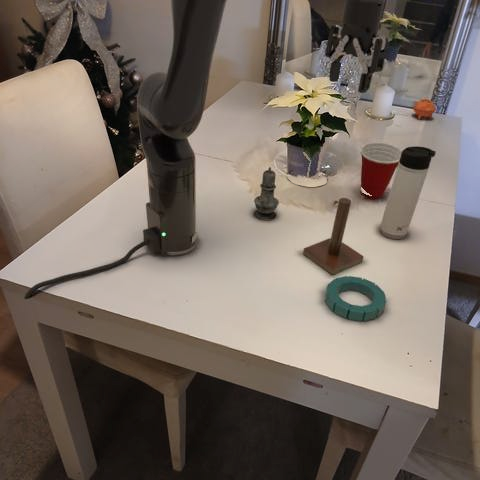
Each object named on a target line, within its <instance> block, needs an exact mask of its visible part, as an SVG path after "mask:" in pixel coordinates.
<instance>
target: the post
mask: <svg viewBox="0 0 480 480" xmlns="http://www.w3.org/2000/svg"><path fill="white" fill-rule="evenodd" d="M351 204H352V200H351V199H350V198H347V197H340V198H339V199H338V202H337V207H336V212H335V217H334V221H333V226H332V231H331V236H330V237H329V238H327V239H325V240H321V241H319V242H316V243H313V244H311V245H308V246H306V247H304V248H303V251H302V255H304V256H305V257H306V258H308V259H309V260H310V261H312V262H313V263H315V264H316V265H318V266H319V267H320V268H322V269H323V270H324V271H325V272H327V273H328V274H329V275H331V276H334V275H336V274H338V273H340V272H342V271H344V270H347V269H349V268H351V267H354V266H356V265H358V264H361V263H363V260H364V255H362V254H361V253H360V252H358V251H356V250H355V249H353V248H352V247H351V246H349V245H347V244H346V243H344V242H343V238H344V235H345V231H346V225H347V222H348V219H349V218H348V217H349V213H350V210H351Z"/></svg>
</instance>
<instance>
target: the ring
mask: <svg viewBox="0 0 480 480" xmlns="http://www.w3.org/2000/svg"><path fill="white" fill-rule="evenodd" d="M346 291H352V292H353V291H354V292H359V293H360V294H363V295H365V296H367V297H368V298H369V299H370V301H371V303H369V304H365V305H357V304H351V303H349V302H347V301H345V300H343V299H342V297H340V295H339V293H341V292H346ZM324 298H325V299H324V301H325V305H327V307H328V308H329V310H330V311H331V312H333V313H334V314H335V315H337V316H339V317H341V318H344V319H347V320H350V321H356V322H357V321H358V322H362V321H363V322H366V321H371V320H375V319H376V318H378V317H379V316H380V315H382V313H383V312H384V309H385V306H386V304H387V299H386V293H385V292H384V290H382V289H381V287H380V286H379V285H378V284H376V282H373V281H371V280H370V279H369V280H368V279H367V278H362V277H361V276H353V275H345V276H340V277H335V278H334V279H332V280H331V281H330V282H329V283H328V284H327V285H326V289H325V294H324Z"/></svg>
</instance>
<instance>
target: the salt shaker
mask: <svg viewBox="0 0 480 480" xmlns="http://www.w3.org/2000/svg"><path fill="white" fill-rule="evenodd" d="M276 176H277V175H276V172H275V171H274V170H272V167H271V166H269V167H268V169H266V170H264V171H263V173H262V182H261V184H260V185H259V186H260V188H261V189H260V195H258V196H256V197H255V198H254V200H253V203H254V205H255V209H256V210H255V211H254V212H253V214H254V217H255V218H256V219H258V220H261V221H272V220H274V219H276V217H277V213H276V212H275V211H276V209H277V208H278V205H279V204H280V201H279V199H278V198H277V197H275V189H277V186H276V184H275V183H276Z"/></svg>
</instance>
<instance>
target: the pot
mask: <svg viewBox="0 0 480 480" xmlns="http://www.w3.org/2000/svg"><path fill="white" fill-rule="evenodd" d="M412 110H413V111H414V113H415V116H417V118H418V119H417V120H421V118H422V117H428V119H431V118H432V117H433V115H434V113H435V112H436V110H437V108H436V105H435V103H433V101H432V100H431V99H428V98H422V99H420V101H417V102H416V103H414V105H413V106H412Z"/></svg>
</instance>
